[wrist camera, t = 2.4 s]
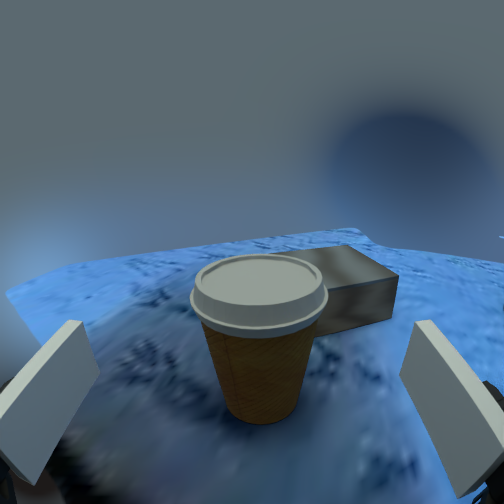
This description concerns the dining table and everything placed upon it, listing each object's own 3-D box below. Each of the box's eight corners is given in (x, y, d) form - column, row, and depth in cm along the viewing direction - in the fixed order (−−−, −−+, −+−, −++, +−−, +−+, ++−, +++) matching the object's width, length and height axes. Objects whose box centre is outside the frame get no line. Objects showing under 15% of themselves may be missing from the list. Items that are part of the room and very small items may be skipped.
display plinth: (344, 280, 47) (347, 244, 45) (391, 317, 35) (399, 275, 33) (268, 292, 44) (267, 253, 42) (300, 340, 32) (302, 293, 30)
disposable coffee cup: (274, 353, 30) (273, 244, 26) (337, 404, 23) (358, 279, 19) (190, 386, 26) (169, 268, 22) (242, 458, 18) (229, 329, 14)
